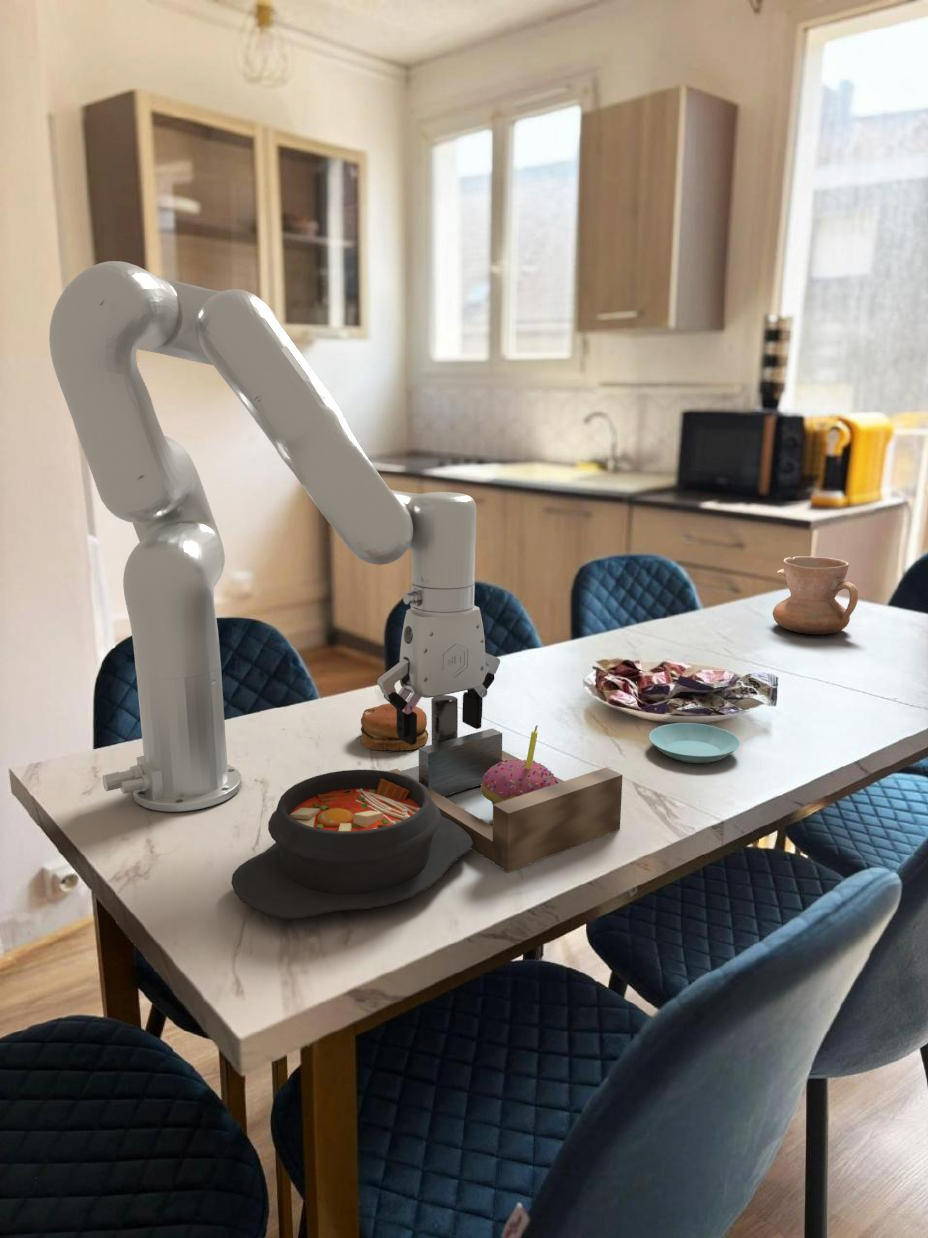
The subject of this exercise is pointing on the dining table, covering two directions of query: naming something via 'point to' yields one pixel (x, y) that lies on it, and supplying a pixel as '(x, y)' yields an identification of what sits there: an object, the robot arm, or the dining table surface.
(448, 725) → the ram
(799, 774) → the dining table surface
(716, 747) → the saucer
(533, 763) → the cupcake
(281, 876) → the casserole
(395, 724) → the burger
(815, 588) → the ceramic jug
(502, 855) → the press bed
